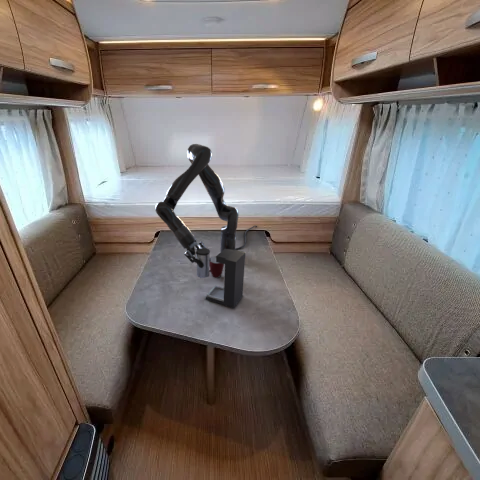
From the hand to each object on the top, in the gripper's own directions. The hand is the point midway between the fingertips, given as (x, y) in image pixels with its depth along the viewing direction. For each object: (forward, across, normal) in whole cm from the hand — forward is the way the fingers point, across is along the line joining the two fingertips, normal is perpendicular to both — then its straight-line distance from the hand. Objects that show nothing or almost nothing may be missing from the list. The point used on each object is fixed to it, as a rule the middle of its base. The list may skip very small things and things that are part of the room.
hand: (206, 264), depth 127 cm
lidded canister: (+3, 0, +6) cm, 7 cm away
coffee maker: (+18, 0, +4) cm, 19 cm away
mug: (+9, +16, +14) cm, 23 cm away
